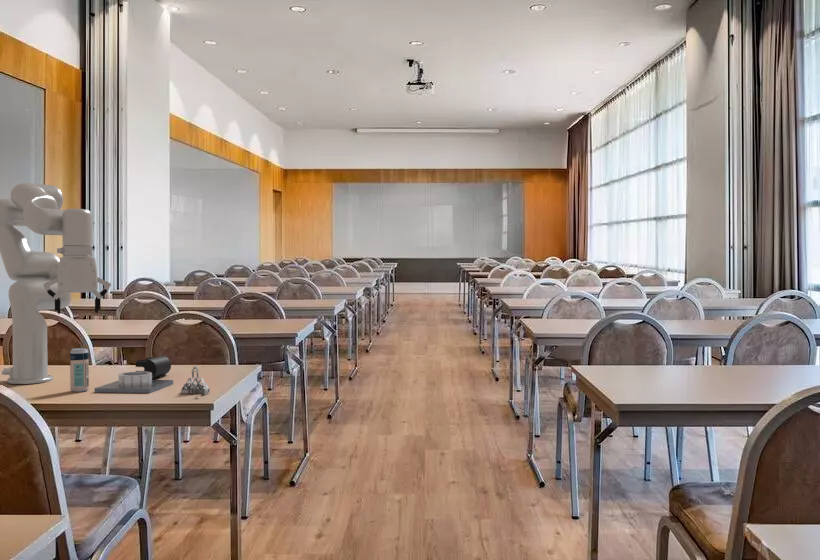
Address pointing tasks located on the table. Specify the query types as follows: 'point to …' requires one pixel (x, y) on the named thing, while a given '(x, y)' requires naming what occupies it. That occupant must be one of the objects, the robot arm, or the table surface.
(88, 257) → the robot arm
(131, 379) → the grey square plate
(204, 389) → the house of cards
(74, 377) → the beer can
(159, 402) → the table surface
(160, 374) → the end cap
